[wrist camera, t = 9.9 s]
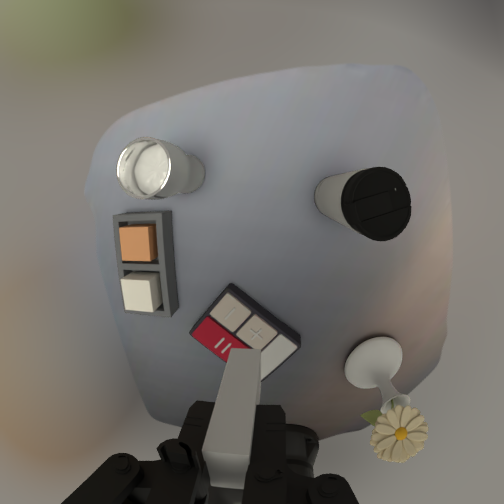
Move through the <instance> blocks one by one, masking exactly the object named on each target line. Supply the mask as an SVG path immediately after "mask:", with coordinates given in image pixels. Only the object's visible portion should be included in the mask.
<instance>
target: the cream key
mask: <svg viewBox="0 0 504 504" xmlns="http://www.w3.org/2000/svg"><path fill="white" fill-rule="evenodd" d="M121 285H122V292H123V298H124V304H125V310H134V311H144V312H154V311H155V310H156V309H157V308H158V307H159V306H160V305H161V304H162V303H163V299H162V291H161V282H160V273H152V272H131V273H130V274H128V275H126V276H125V277H123V278H122V279H121Z"/></svg>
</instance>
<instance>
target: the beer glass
mask: <svg viewBox="0 0 504 504" xmlns="http://www.w3.org/2000/svg"><path fill="white" fill-rule="evenodd" d="M116 173H117V179H118V182H119V185H120V187H121V188H122V190H123V191H124V192H125V193H126V194H127V195H129V196H131V197H133V198H136V199H151V200H155V199H164V198H168V197H171V196H173V195H176V194H178V193H182V194H188V193H192V192H194V191H196V190H197V189H198V188H199V187H200V186H201V185H202V183H203V181H204V177H205V169H204V166H203V164H202V162H201V161H200V160H199V159H198V158H197V157H195V156H193V155H186V154H185V152H184V151H182V150H181V149H180V148H179V147H178V146H176V145H174V144H172V143H170V142H167V141H164V140H160V139H155V138H151V137H142V138H138V139H136V140H134V141H132V142H131V143H129V144H128V145H127V146H126V147H125V148H124V150H123V151H122V153H121V154H120V156H119V159H118V162H117V169H116Z"/></svg>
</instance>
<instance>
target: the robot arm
mask: <svg viewBox="0 0 504 504" xmlns="http://www.w3.org/2000/svg"><path fill="white" fill-rule="evenodd" d="M260 392H261V349H240V348H231V350H230V353H229V357H228V360H227V364H226V367H225V371H224V374H223V378H222V381H221V385H220V388H219V392H218V395H217V399H216V402H206V401H196V402H195V403H194V404H193V405H192V406H191V407H190V408H189V411H188V413H187V416H186V418H185V421H184V425H183V426H182V429H181V431H180V434H179V437H178V439H169V440H166V441H164V442H162V443H161V444H160V445H159V446H158V447H157V451H158V453H159V455H160V458H161V460H156V461H138V460H137V459H136V458H135V457H134V456H132V455H130V454H127V453H118V454H114V455H112V456H111V457H109V458H108V459H107V460H106V461H105V462H104V463H103V464H102V465H101V466H100V467H99V468H98V469H97V470H96V471H95V472H94V473H93V474H92V475H91V476H90V477H89V478H88V479H87V480H86V481H84V482H83V483H82V484H81V485H80V486H79V487H78V488H77V489H76V490H75V491H74V492H73V493H72V494H71V495H70V496H69V497H68V498H66V499H65V500H64V501H63V502H62V503H61V504H359V503H358V501H357V499H356V497H355V495H354V493H353V491H352V489H351V487H350V485H349V484H348V482H347V481H346V480H345V478H343V477H341V476H339V475H336V474H322V475H320V476H318V477H316V478H314V474H313V465H314V462H315V459H316V456H317V453H318V450H319V442H318V437H317V435H316V434H315V433H314V432H313V431H312V430H310V429H308V428H306V427H303V426H298V425H285V423H286V421H285V412H284V410H283V409H282V407H281V406H280V405H259V403H260Z"/></svg>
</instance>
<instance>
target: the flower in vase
mask: <svg viewBox="0 0 504 504" xmlns="http://www.w3.org/2000/svg"><path fill="white" fill-rule="evenodd" d="M401 363H402V349H401V346H400V344H399V343H398V342H397V341H396V340H394V339H392V338H389V337H375V338H372V339H369V340H367V341H364V342H363V343H361V344H360V345H358V346H357V347H356V348H355V349H354V350H353V351H352V353H351V354H350V355H349V357H348V359H347V361H346V363H345V369H344V371H345V376H346V378H347V380H348V381H349V382H350V383H351V384H353V385H354V386H356V387H359V388H364V389H367V388H375V387H379V389H380V392H381V394H382V399H383V405H382V407H381V409H380V411H379V410H371V411H368V412H366V413H363V414H362V415H360V416H361V417H363V418H364V419H365V420H367V421H368V422H369V423H370V424H372V425H373V426H375V429H373V430H372V436H371V440H370V444H371V445H372V446H375V447H374V452H375V453H378V454H377V457H378V458H379V459H383V460H385V461H386V460H387V461H388V462H391V461H394V462H397V463H399V462H401V463H404V462H405V461H406V460H408V459H409V458H410V456H411V457H414V456H415V455H416V453H417V452H418V451H419V450H422V449H423V448H424V441H425V440H426V439H427V438H428V435H427V434H426V432H427V431H428V426H427V423H426V422H423V421H424V416H423V415H420V411H419V410H418V409H417V408H412V409H411V407H410V406H409V405H410V401H411V400H410V397H409V396H407V395H405V394H400V393H399V392H398V391H397V390H396V389H395V388H394V386H393V385H392V383H391V381H390V379H391V378H392V377H393V376H394V375H395V374H396V373H397V371H398V370H399V368H400V366H401Z"/></svg>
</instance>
